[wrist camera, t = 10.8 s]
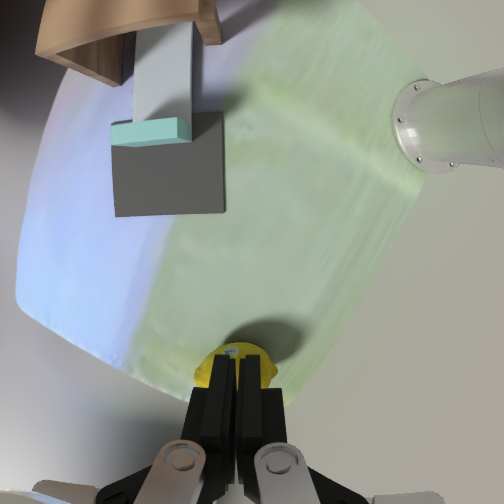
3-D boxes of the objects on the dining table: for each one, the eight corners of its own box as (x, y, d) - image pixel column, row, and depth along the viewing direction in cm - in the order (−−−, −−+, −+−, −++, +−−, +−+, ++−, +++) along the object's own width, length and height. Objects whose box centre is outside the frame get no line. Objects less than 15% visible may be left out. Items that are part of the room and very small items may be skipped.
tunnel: (222, 6, 29) (204, -73, 13) (221, 73, 31) (197, 11, 16) (118, 22, 29) (56, -32, 13) (113, 87, 32) (35, 54, 16)
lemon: (278, 333, 41) (283, 369, 33) (272, 377, 43) (275, 414, 36) (199, 328, 41) (188, 362, 33) (200, 371, 43) (191, 408, 35)
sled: (199, -16, 27) (189, -44, 20) (196, 141, 33) (182, 137, 27) (140, -6, 27) (122, -30, 20) (132, 147, 33) (106, 145, 27)
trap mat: (222, 112, 33) (221, 111, 33) (224, 212, 36) (223, 213, 36) (112, 123, 33) (111, 123, 33) (116, 216, 36) (115, 217, 36)
